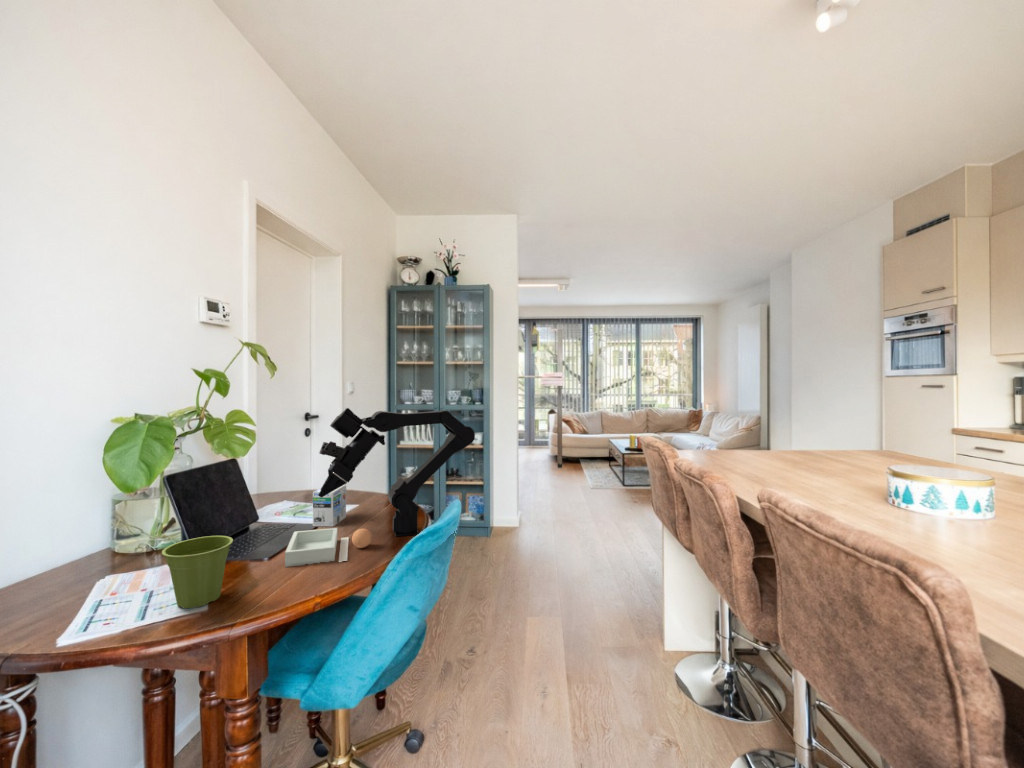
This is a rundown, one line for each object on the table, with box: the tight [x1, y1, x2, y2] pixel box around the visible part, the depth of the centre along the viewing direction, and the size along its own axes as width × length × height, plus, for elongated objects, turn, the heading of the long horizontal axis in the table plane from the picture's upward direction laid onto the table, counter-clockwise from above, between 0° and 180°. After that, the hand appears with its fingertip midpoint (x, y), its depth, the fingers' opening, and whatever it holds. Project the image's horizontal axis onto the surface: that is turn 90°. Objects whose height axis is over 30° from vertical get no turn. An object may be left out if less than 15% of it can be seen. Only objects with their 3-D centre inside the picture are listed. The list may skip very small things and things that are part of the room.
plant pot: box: [161, 535, 234, 609], centre depth 91 cm, size 12×12×11 cm
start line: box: [338, 536, 350, 563], centre depth 120 cm, size 2×18×1 cm, turn 19°
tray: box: [284, 527, 338, 568], centre depth 118 cm, size 11×16×4 cm
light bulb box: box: [312, 484, 347, 528], centre depth 144 cm, size 11×7×11 cm, turn 179°
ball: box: [351, 528, 373, 549], centre depth 121 cm, size 5×5×5 cm
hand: (320, 493), depth 124 cm, fingers open, 9 cm apart
